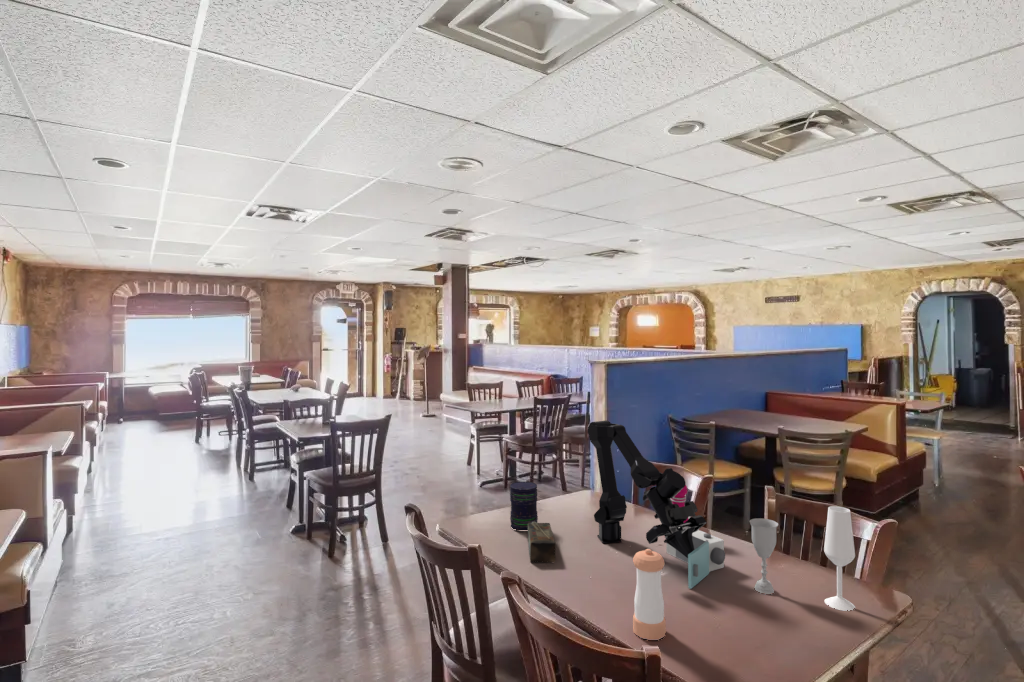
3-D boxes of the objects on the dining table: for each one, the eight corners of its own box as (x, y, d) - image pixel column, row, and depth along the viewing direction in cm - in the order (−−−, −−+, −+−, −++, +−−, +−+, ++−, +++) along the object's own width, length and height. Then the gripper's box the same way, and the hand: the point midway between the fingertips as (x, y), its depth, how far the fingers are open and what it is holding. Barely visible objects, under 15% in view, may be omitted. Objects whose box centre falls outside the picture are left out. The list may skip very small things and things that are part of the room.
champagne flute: (818, 597, 139) (818, 505, 139) (845, 597, 139) (844, 504, 138) (833, 610, 132) (833, 513, 132) (861, 611, 132) (861, 513, 132)
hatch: (706, 572, 154) (706, 541, 153) (712, 574, 152) (712, 543, 152) (688, 587, 145) (688, 554, 145) (694, 590, 143) (694, 556, 143)
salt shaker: (660, 623, 128) (659, 542, 127) (670, 640, 120) (669, 555, 120) (629, 624, 127) (628, 543, 127) (637, 641, 120) (637, 556, 120)
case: (665, 553, 168) (665, 523, 168) (682, 548, 172) (682, 519, 171) (710, 574, 153) (710, 542, 152) (728, 569, 156) (728, 537, 156)
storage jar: (512, 521, 198) (511, 481, 198) (539, 522, 197) (538, 481, 197) (508, 531, 188) (507, 488, 188) (536, 532, 187) (535, 489, 187)
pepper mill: (687, 532, 185) (686, 474, 185) (692, 540, 178) (691, 480, 178) (665, 531, 186) (665, 474, 186) (669, 539, 179) (669, 479, 179)
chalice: (766, 598, 139) (765, 529, 138) (744, 587, 145) (743, 521, 144) (784, 592, 142) (784, 524, 142) (762, 581, 148) (761, 516, 148)
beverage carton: (550, 539, 181) (550, 520, 181) (556, 564, 162) (556, 542, 162) (527, 540, 181) (526, 520, 181) (529, 564, 162) (529, 542, 162)
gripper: (653, 497, 148) (683, 551, 138) (701, 487, 157) (733, 538, 147) (633, 517, 155) (661, 570, 145) (681, 506, 164) (710, 555, 154)
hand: (692, 557), depth 148 cm, fingers closed
